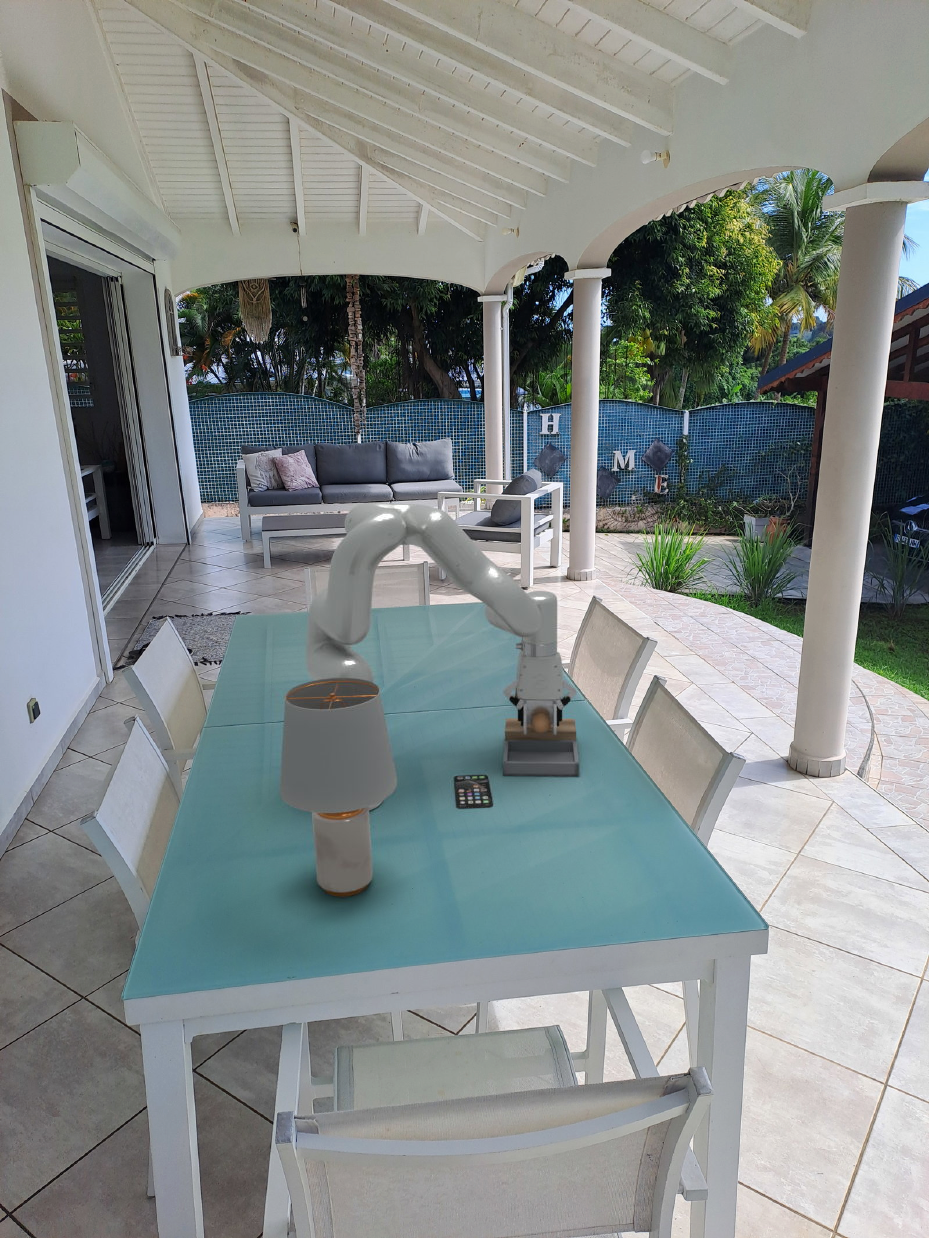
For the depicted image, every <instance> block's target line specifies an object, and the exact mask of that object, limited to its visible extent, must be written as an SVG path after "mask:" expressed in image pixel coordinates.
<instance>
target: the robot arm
mask: <svg viewBox="0 0 929 1238" xmlns="http://www.w3.org/2000/svg"><path fill="white" fill-rule="evenodd" d="M344 530H345V533H346V535H345V536H344V537H343V539H341V540H340V542H339V543H338V545H337V546H336V548H335V549H334V552H333V555H332V557H331V561H330V565H329V571H328V572H329V573H328V581H327V588H325V589H323V590H321V591H319V592H318V593H317V594H316V595H315V596H314V598H313V599H312V600H311V603H310V605H309V608H308V613H307V622H306V623H307V624H306V625H307V626H306V642H305V645H306V646H305V665H306V671H307V673H308V675H309V676H310V678H311V679H312V681H315V680H321V679H329V678H355V679H362V680H366V681H370V682H372V683H374V676H373V670H372V669H371V667H370V664H369V662H368V661H367V660H366V659H365V658H364V657H363V656H362V655H361V654H359V653H358V652H356V651H355V650H353V649H352V646H354V645H357V644H360V643H361V642H363V641H364V640H365V639H366V637H367V636H368V634H369V632H370V628H371V622H372V607H373V606H372V605H373V591H374V590H373V589H374V588H373V587H374V583H375V582H374V581H375V580H374V579H375V574H376V570H377V568H378V566H379V565H380V564H381V562H382V560H384V558H385V557H387V555H389V554H390V553H391V552H393V551H395V550H397V549H398V548H399V547H400V546H405V545H406V546H408V545H409V546H414V547H418V548H420V549H421V550H423V551H424V553H426V555H427V556H428V557H429V558H430V559H431V560H432V561H433V562H434V563H435V564H436V565H437V566H438V567H439V568H440V570H441V571H442V572H443V573H444V574H445V575H446V576H447V578H449V579H450V581H451V582H452V583H453V584H454V585H456V586H457V587H458V588H459V589H461V590H462V591H464V593H467V594H469V595H470V596H472V597H474V598H476V599H477V600H479V601H481V602H482V603H483V604H485V606H484V616H485V618H486V620H487V622H488V623H489V624H490V625H492V626H493V627H494V628H498V629H500V630H501V631H504V632H507V633H509V634H511V635H513V636H515V637H518V638H522V637H523V641H522V640H521V642H516V643H515V649H517V650H520V652H521V651H523V652H521V653H519V654H520V655H519V654H518V658H519V660H517V672H516V678H515V680H514V681H512V682H511V683H510V684H508V685H507V686H506V687H504V688H503V690H502V692H503V695H504V696H506V698H507V699H508V700H509V702H510V703H511V704H512V705H513V706H515V707H516V709H517V718H518V721H521V726H524V706H523V704H524V702H525V701H526V700H554V701H555V702H556V703H557V726H559V721H562V719H563V709H564V708H565V707H566V706H567V705H568V704H569V703H570V702H571V701H572V699H573V698H574V697H575V696H576V695H577V693H578V691H577V689H576V688H575V687H574V686H572V684H570V683H569V682H567V681H566V680H565V679H564V671H563V669H564V668H563V662H562V661H563V660H562V656H561V654H560V652H559V651H558V598H557V596H556V594H555V593H554V592H551V591H546V590H533V591H529V592H526V591H525V590H524V588H523V587H521V586H520V585H519V583H517V582H516V581H515V580H514V579H513V578H512V577H510V576H509V574H507V573H506V572H505V571H504V570H502V569H501V568H500V567H499V566H498V565H497V564H496V563H495V562H494V561H492V560H491V558H489V557H487V555H486V554H485V553H484V552H483V551H481V549H480V548H479V547H478V545H476V543H475V542H474V541H473V540H472V539H471V538H470V537H469V535H467V534H466V532H465V531H464V530H463V529H462V527H461V526H460V525H459V524H458V523H457V522H456V521H455V520H454V518H453V517H452V516H451V515H450V514H449V513H448V512H446V511H444V510H443V509H440V508H437V507H433V506H429V505H425V504H404V503H403V504H398V503H397V504H396V503H394V504H393V503H373V502H366V503H365V502H364V503H360V504H357V505H355V506H353V507H352V508H351V509H350V510H349V511H348V512H347V514H346V516H345V519H344ZM516 688H517V696H518V698H517V697H515V694H514V693H513V691H514V690H516ZM564 690H565V691H567V694H566V695H565V696H564ZM383 802H384V800H382V801H380V802H378V803H376V804H374V805H371V806H369V812H370V811H372V810H374V809H376V808H378V807H379V806H380V805H381V804H382V803H383Z"/></svg>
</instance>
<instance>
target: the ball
mask: <svg viewBox="0 0 929 1238" xmlns="http://www.w3.org/2000/svg"><path fill="white" fill-rule="evenodd" d="M531 726H532V728H533V729H534V730H535V731H536V732H538V733H544V732H546V731H548V730H549V728H550V726H551V721H550V718H549V717H548V716H547V715H546V714H543V713H539V714H536V715H535V716H534V717H533V718H532V720H531Z"/></svg>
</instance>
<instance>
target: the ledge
mask: <svg viewBox="0 0 929 1238" xmlns="http://www.w3.org/2000/svg"><path fill="white" fill-rule="evenodd" d="M505 740H576V741H577V728H576V719H575V718H562V721H559V726H557V734H554V731H553V724H551V726H550V728H549V730H548V731H546V732H544V733H538V732H536V731H535V730H534V729H533V728H532V726H531V724H527V726H526V734H524V726H521V721H518V717H516V718H512V717H511V718H505V727H504V741H505Z"/></svg>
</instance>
